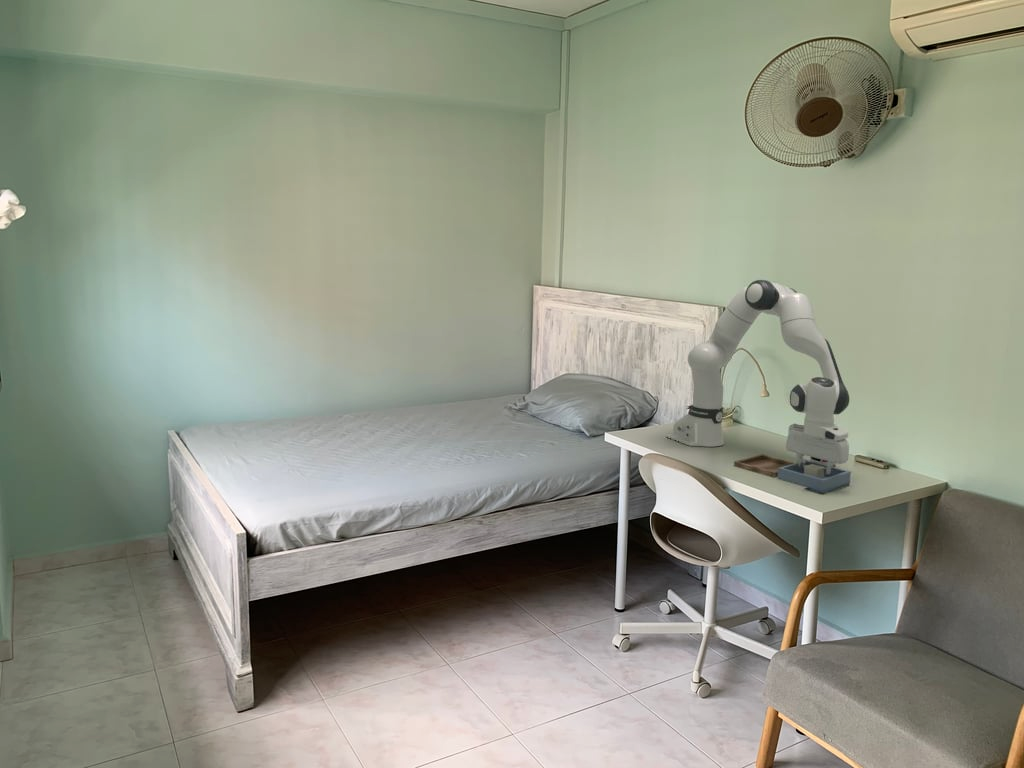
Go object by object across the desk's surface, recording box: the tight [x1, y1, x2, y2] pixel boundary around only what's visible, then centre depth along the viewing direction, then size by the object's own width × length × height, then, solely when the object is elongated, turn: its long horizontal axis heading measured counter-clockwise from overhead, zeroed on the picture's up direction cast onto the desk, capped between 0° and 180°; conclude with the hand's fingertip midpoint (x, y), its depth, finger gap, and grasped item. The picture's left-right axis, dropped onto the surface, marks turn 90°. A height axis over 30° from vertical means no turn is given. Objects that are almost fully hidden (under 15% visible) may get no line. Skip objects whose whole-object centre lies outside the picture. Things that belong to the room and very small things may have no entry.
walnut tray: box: [733, 454, 795, 479], centre depth 270 cm, size 16×16×2 cm
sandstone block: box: [804, 464, 825, 479], centre depth 257 cm, size 4×4×4 cm
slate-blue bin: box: [776, 459, 852, 495], centre depth 257 cm, size 16×16×4 cm
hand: (814, 470), depth 256 cm, fingers open, 7 cm apart
